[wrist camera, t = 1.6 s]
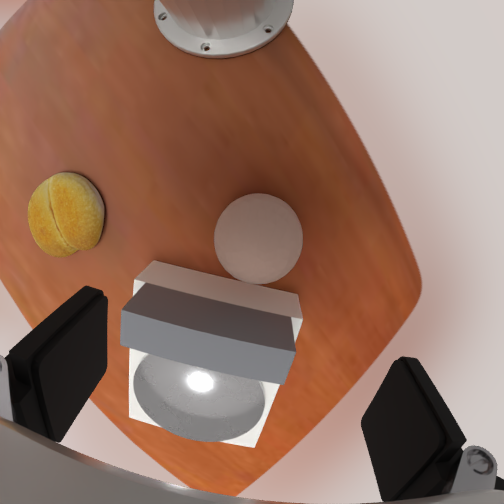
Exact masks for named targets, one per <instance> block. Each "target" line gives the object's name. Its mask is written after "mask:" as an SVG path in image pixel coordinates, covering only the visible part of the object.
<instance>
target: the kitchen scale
mask: <svg viewBox="0 0 504 504" xmlns="http://www.w3.org/2000/svg"><path fill="white" fill-rule="evenodd" d="M302 321H303V317H302V312H301V307H300V302H299V298H298V294H295V293H290V292H286V291H281V290H277V289H272V288H268V287H264V286H259V285H255V284H250V283H246V282H242V281H237V280H233V279H229V278H225V277H220V276H216V275H212V274H208V273H204V272H200V271H195V270H191V269H187V268H183V267H179V266H175V265H171V264H167V263H163V262H159V261H155V260H153V261H152V262H151V263H150V264H149V265H148V266H147V267H146V268H145V269H144V270H143V271H142V272H141V273H140V274H139V275H138V276H137V277H136V278H135V279H134V290H133V297H132V298H131V299H130V301H129V302H128V303H127V304H126V305H125V306H124V307H123V309H122V311H121V336H120V345H122V346H125V347H128V348H130V359H129V417H130V418H133V419H136V420H139V421H142V422H146V423H149V424H152V425H155V426H159V425H158V424H157V423H155V422H154V421H153V420H152V419H151V418H150V417H149V416H148V415H147V414H146V413H145V412H144V411H143V409H142V408H141V406H140V405H139V403H138V401H137V399H136V396H135V393H134V388H133V379H134V374H135V371H136V369H137V367H138V365H139V364H140V362H141V360H142V359H143V358H144V356H145V355H146V354H151V355H155V356H158V357H162V358H165V359H169V360H172V361H176V362H180V363H184V364H187V365H191V366H194V367H197V368H201V369H207V370H212V371H216V372H220V373H225V374H229V375H234V376H239V377H244V378H249V379H254V380H259V381H261V382H262V385H263V388H264V393H265V406H264V411H263V415H262V417H261V419H260V420H259V422H258V423H257V424H256V425H255V426H254V427H253V428H252V429H251V430H250V431H248V432H247V433H245V434H243V435H241V436H239V437H236V438H233V439H230V440H225V441H220V442H225V443H230V444H236V445H241V446H247V447H253V448H254V447H255V445H256V443H257V440H258V438H259V435H260V433H261V431H262V428H263V426H264V423H265V421H266V418H267V416H268V413H269V411H270V408H271V406H272V403H273V401H274V398H275V395H276V393H277V390H278V388H279V385H280V384H281V385H284V383H285V380H286V378H287V375H288V372H289V370H290V367H291V364H292V362H293V359H294V356H295V354H296V348H295V341H296V338H297V336H298V333H299V330H300V327H301V324H302ZM159 427H161V426H159Z"/></svg>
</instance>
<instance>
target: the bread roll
mask: <svg viewBox="0 0 504 504" xmlns="http://www.w3.org/2000/svg"><path fill="white" fill-rule="evenodd" d="M103 221H104V204H103V201H102V198H101V196H100V195H99V192H98V191H97V189H96V188H95V187H94V186H93V185H92V184H91V183H90V182H89V181H88V180H87V179H86V178H84V177H83V176H81V175H79V174H75V173H67V172H62V173H58V174H55V175H53V176H52V177H50V178H49V179H47V180H45V181H44V182H43V183H41V184H40V185H39V186H38V187H37V189H36V190H35V191H34V193H33V194H32V197H31V199H30V202H29V205H28V222H29V227H30V230H31V233H32V235H33V237H34V239H35V241H36V243H37V244H38V246H39V247H40V248H41V249H42V250H43V251H44V252H46V253H47V254H49V255H51V256H54V257H66V256H69V255H71V254H73V253H75V252H76V251H77V250H88V249H91V248H93V247H94V246H95V245H96V244H97V243H98V241H99V239H100V236H101V232H102V228H103Z"/></svg>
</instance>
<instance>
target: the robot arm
mask: <svg viewBox="0 0 504 504" xmlns="http://www.w3.org/2000/svg"><path fill="white" fill-rule="evenodd" d="M293 1H294V0H155V1H154V17H155V21H156V24H157V26H158V28H159V30H160V32H161V33H162V34H163V35H164V37H165V38H166V39H167V40H168V41H169V42H170V43H172V44H173V45H174V46H175V47H177V48H179V49H180V50H182V51H184V52H186V53H189V54H192V55H195V56H199V57H205V58H229V57H236V56H240V55H243V54H247V53H250V52H252V51H254V50H256V49H259V48H261V47H263V46H264V45H266V44H267V43H269V42H270V41H272V40H273V39H274V38H275V37H276V36H277V35H278V34H279V33H280V32H281V31H282V30H283V28H284V27H285V25H286V24H287V22H288V20H289V18H290V15H291V13H292V8H293V3H294V2H293ZM165 18H166V19H165ZM164 19H165V20H164ZM267 30H269V31H271V33H266V31H267ZM206 48H210V50H208V51H205V49H206ZM107 313H108V299H107V297H106V296H104V294H103V291H102V290H99V289H96V288H93V287H90V286H84V287H83V288H82V289H80V290H79V291H78V292H77V293H76V294H74V295H73V296H72V297H71V298H69V299H68V300H67V301H66V302H65V303H63V304H62V305H61V306H60V307H59V308H57V309H56V310H55V311H54V312H53V313H52V314H50V315H49V316H48V317H47V318H46V319H45V320H43V321H42V322H41V323H40V324H39V325H38V326H37V327H35V328H34V329H33V330H32V331H31V332H30V333H29V334H27V335H26V336H25V337H24V338H23V339H22V340H21V341H20V342H19V343H18V344H16V345H15V346H14V347H13V348H12V349H11V350H10V351H9V354H8V355H7V356H6V357H5V358H3V356H1V355H0V504H303V503H286V502H274V501H264V500H255V499H248V498H240V497H234V496H228V495H222V494H216V493H211V492H206V491H201V490H196V489H192V488H187V487H183V486H179V485H175V484H171V483H167V482H163V481H160V480H156V479H152V478H149V477H146V476H142V475H139V474H136V473H133V472H130V471H126V470H124V469H121V468H118V467H115V466H112V465H110V464H107V463H104V462H102V461H99V460H97V459H94V458H92V457H89V456H86V455H84V454H81V453H79V452H77V451H74V450H72V449H69V448H67V447H65V446H63V445H61V444H58V443H59V442H61V441H62V439H63V438H64V436H65V434H66V433H67V431H68V430H69V428H70V426H71V425H72V423H73V422H74V420H75V419H76V417H77V415H78V414H79V412H80V410H81V409H82V407H83V406H84V404H85V403H86V401H87V400H88V398H89V397H90V395H91V394H92V392H93V391H94V389H95V387H96V386H97V384H98V383H99V381H100V380H101V378H102V377H103V375H104V374H105V372H106V369H107ZM361 427H362V431H363V434H364V437H365V441H366V444H367V448H368V451H369V455H370V458H371V462H372V466H373V469H374V473H375V476H376V480H377V484H378V487H379V492H380V495H381V499H382V501H383V502H379V503H362V504H504V479H502V478H500V477H498V476H496V475H497V463H496V460H495V458H494V457H493V455H492V454H491V453H490V452H489V451H487V450H486V449H484V448H482V447H479V446H469V447H467V448H466V449H465V450H464V451H463V450H462V448H461V447H462V445H463V444H464V443H465V442H466V438H465V436H464V434H463V432H462V431H461V429H460V427H459V426H458V424H457V423H456V420H455V419H454V417H453V415H452V413H451V412H450V410H449V408H448V407H447V405H446V403H445V402H444V400H443V398H442V397H441V395H440V394H439V392H438V391H437V389H436V387H435V385H434V384H433V382H432V381H431V379H430V378H429V376H428V374H427V373H426V371H425V370H424V368H423V366H422V365H421V363H420V362H419V360H418V359H416V358H411V357H400V358H399V359H398V360H395V361H394V362H393V364H392V365H391V367H390V369H389V371H388V373H387V375H386V377H385V379H384V381H383V383H382V384H381V386H380V388H379V390H378V391H377V393H376V395H375V397H374V398H373V400H372V402H371V403H370V405H369V407H368V409H367V410H366V412H365V414H364V415H363V417H362V420H361ZM56 442H58V443H56Z"/></svg>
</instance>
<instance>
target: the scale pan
mask: <svg viewBox="0 0 504 504" xmlns="http://www.w3.org/2000/svg"><path fill="white" fill-rule="evenodd" d="M133 388H134V393H135V396H136V399H137V401H138V403H139V405H140V406H141V408H142V409H143V411H144V412H145V413H146V414H147V415H148V416H149V417H150V418H151V419H152V420H153V421H154V422H155V423H157V424H158V425H159V426H161V427H162V428H164V429H166V430H167V431H169V432H171V433H173V434H176V435H178V436H181V437H184V438H187V439H191V440H196V441H205V442H217V441H225V440H230V439H233V438H236V437H239V436H241V435H243V434H245V433H247V432H248V431H250V430H251V429H252V428H253V427H254V426H255V425H256V424H257V423H258V422H259V420H260V419H261V417H262V415H263V411H264V406H265V393H264V388H263V385H262V382H261V381H259V380H254V379H249V378H244V377H239V376H234V375H229V374H225V373H220V372H216V371H212V370H207V369H201V368H197V367H194V366H191V365H187V364H184V363H180V362H176V361H172V360H169V359H165V358H162V357H158V356H155V355H151V354H146V355H145V356H144V358H143V359H142V360H141V362H140V364H139V365H138V367H137V369H136V371H135V374H134V379H133Z"/></svg>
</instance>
